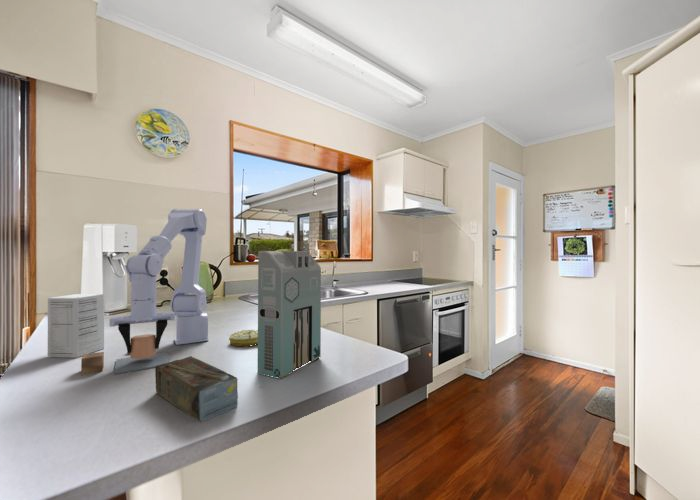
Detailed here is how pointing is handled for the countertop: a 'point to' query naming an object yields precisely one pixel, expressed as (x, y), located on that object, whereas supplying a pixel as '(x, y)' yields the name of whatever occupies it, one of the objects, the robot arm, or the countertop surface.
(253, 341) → the decorated donut
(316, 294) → the device
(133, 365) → the slate mat
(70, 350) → the supplement box
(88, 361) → the walnut block
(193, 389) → the beverage carton
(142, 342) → the peach faceted cylinder
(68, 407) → the countertop surface
